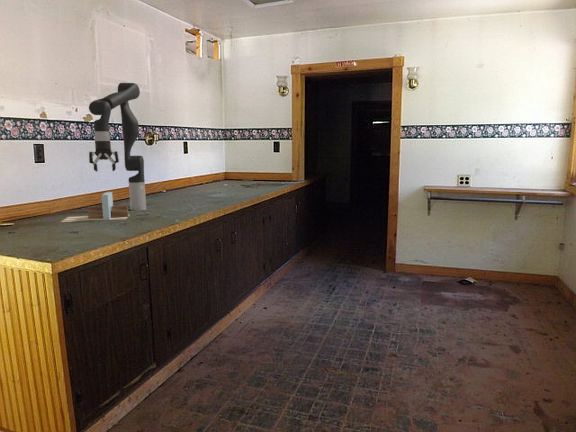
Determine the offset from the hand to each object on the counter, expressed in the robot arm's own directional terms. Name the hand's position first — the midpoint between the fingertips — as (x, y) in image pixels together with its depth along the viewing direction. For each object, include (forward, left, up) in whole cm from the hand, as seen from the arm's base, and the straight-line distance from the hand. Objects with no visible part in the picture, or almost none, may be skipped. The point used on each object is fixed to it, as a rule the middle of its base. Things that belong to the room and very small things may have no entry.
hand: (105, 171), depth 229 cm
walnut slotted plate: (0, 0, -25) cm, 25 cm away
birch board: (0, -6, -26) cm, 27 cm away
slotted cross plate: (0, 0, -25) cm, 25 cm away
